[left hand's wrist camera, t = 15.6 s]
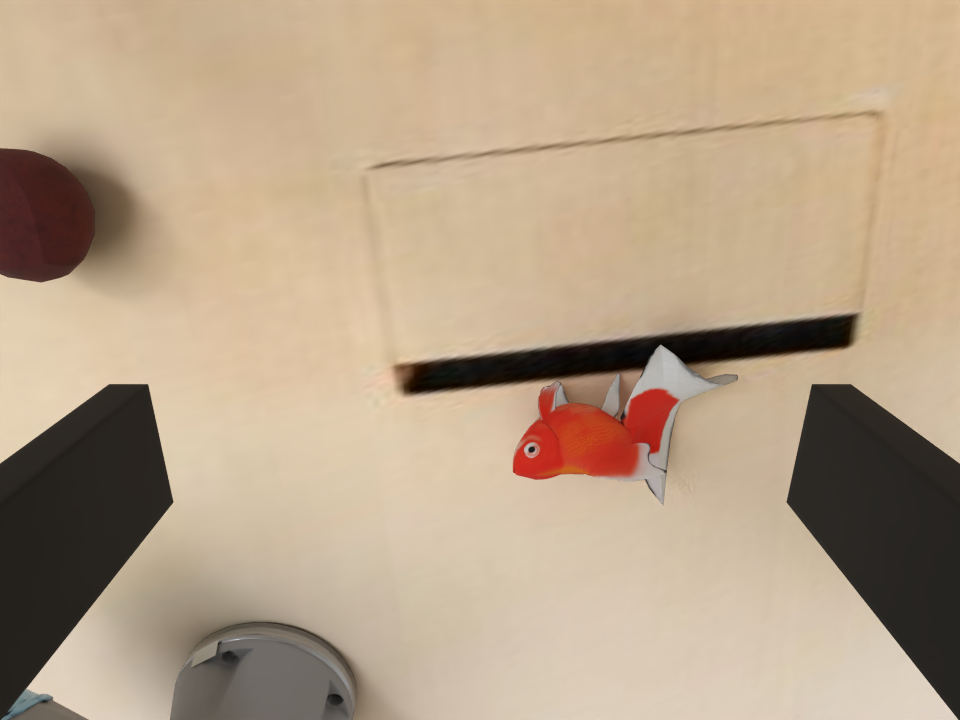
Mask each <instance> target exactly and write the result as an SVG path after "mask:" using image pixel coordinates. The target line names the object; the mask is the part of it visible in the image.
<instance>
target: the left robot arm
mask: <svg viewBox="0 0 960 720" xmlns="http://www.w3.org/2000/svg"><path fill="white" fill-rule="evenodd" d="M172 503H173V498H172V494H171V489H170V484H169V480H168V475H167V470H166V466H165V461H164V456H163V452H162V447H161V442H160V438H159V433H158V429H157V424H156V419H155V415H154V410H153V405H152V401H151V396H150V391H149V387H148V384H109V385H108V386H106V387H105V388H104V389H102V390H101V391H99V392H98V393H97V394H95V395H94V396H93V397H91V398H90V399H88V400H87V401H86V402H84V403H83V404H82V405H80V406H79V407H77V408H76V409H75V410H73V411H72V412H71V413H69V414H68V415H66V416H65V417H64V418H62V419H61V420H60V421H58V422H57V423H55V424H54V425H53V426H51V427H50V428H49V429H47V430H46V431H44V432H43V433H42V434H40V435H39V436H38V437H36V438H35V439H34V440H32V441H31V442H29V443H28V444H27V445H25V446H24V447H23V448H21V449H20V450H18V451H17V452H16V453H14V454H13V455H12V456H10V457H9V458H7V459H6V460H5V461H3V462H2V463H1V464H0V720H88V719H86V718H84V717H82V716H81V715H79V714H77V713H75V712H73V711H71V710H70V709H68V708H66V707H64V706H62V705H60V704H58V703H57V702H55V701H53V697H52V696H50V695H48V694H41V695H39V694H36V693H34V692H32V691H30V690H28V689H26V688H27V687H28V686H29V684H30V683H31V682H32V680H33V679H34V678H35V677H36V675H37V674H38V673H39V672H40V670H41V669H42V668H43V667H44V665H45V664H46V663H47V661H48V660H49V659H50V658H51V656H52V655H53V654H54V653H55V651H56V650H57V649H58V648H59V646H60V645H61V644H62V642H63V641H64V640H65V639H66V637H67V636H68V635H69V634H70V632H71V631H72V630H73V629H74V627H75V626H76V625H77V624H78V622H79V621H80V620H81V618H82V617H83V616H84V615H85V613H86V612H87V611H88V610H89V608H90V607H91V606H92V605H93V603H94V602H95V601H96V599H97V598H98V597H99V596H100V594H101V593H102V592H103V591H104V589H105V588H106V587H107V586H108V584H109V583H110V582H111V581H112V579H113V578H114V577H115V575H116V574H117V573H118V572H119V570H120V569H121V568H122V567H123V565H124V564H125V563H126V562H127V560H128V559H129V558H130V556H131V555H132V554H133V553H134V551H135V550H136V549H137V548H138V546H139V545H140V544H141V543H142V541H143V540H144V539H145V537H146V536H147V535H148V534H149V532H150V531H151V530H152V529H153V527H154V526H155V525H156V524H157V522H158V521H159V520H160V519H161V517H162V516H163V515H164V513H165V512H166V511H167V510H168V508H169V507H170V506H171V505H172ZM787 503H788V505H789V506H790V507H791V508H792V510H793V511H794V512H795V513H796V515H797V516H798V517H799V519H800V520H801V521H802V522H803V524H804V525H805V526H806V527H807V529H808V530H809V531H810V532H811V534H812V535H813V536H814V537H815V539H816V540H817V541H818V543H819V544H820V545H821V546H822V548H823V549H824V550H825V551H826V553H827V554H828V555H829V556H830V558H831V559H832V560H833V562H834V563H835V564H836V565H837V567H838V568H839V569H840V570H841V572H842V573H843V574H844V575H845V577H846V578H847V579H848V581H849V582H850V583H851V584H852V586H853V587H854V588H855V589H856V591H857V592H858V593H859V594H860V596H861V597H862V598H863V599H864V601H865V602H866V603H867V605H868V606H869V607H870V608H871V610H872V611H873V612H874V613H875V615H876V616H877V617H878V618H879V620H880V621H881V622H882V624H883V625H884V626H885V627H886V629H887V630H888V631H889V632H890V634H891V635H892V636H893V637H894V639H895V640H896V641H897V642H898V644H899V645H900V646H901V648H902V649H903V650H904V651H905V653H906V654H907V655H908V656H909V658H910V659H911V660H912V661H913V663H914V664H915V665H916V667H917V668H918V669H919V670H920V672H921V673H922V674H923V675H924V677H925V678H926V679H927V680H928V682H929V683H930V684H931V686H932V687H933V688H934V689H935V691H936V692H937V693H938V694H939V696H940V697H941V698H942V699H943V701H944V702H945V703H946V704H947V706H948V707H949V708H950V710H951V711H952V712H953V713H954V715H955V716H956V717H957V718H958V720H960V464H959V463H958V462H957V461H955V460H954V459H953V458H951V457H950V456H948V455H947V454H946V453H944V452H943V451H942V450H940V449H939V448H937V447H936V446H935V445H933V444H932V443H931V442H929V441H928V440H926V439H925V438H924V437H922V436H921V435H920V434H918V433H917V432H916V431H914V430H913V429H911V428H910V427H909V426H907V425H906V424H905V423H903V422H902V421H900V420H899V419H898V418H896V417H895V416H894V415H892V414H891V413H889V412H888V411H887V410H885V409H884V408H883V407H881V406H880V405H878V404H877V403H876V402H874V401H873V400H872V399H870V398H869V397H867V396H866V395H865V394H863V393H862V392H861V391H859V390H858V389H856V388H855V387H854V386H852V385H851V384H812V387H811V391H810V396H809V401H808V405H807V410H806V415H805V419H804V424H803V429H802V433H801V438H800V442H799V447H798V452H797V456H796V461H795V466H794V470H793V475H792V480H791V484H790V489H789V494H788V498H787ZM356 698H357V690H356V683H355V680H354V677H353V674H352V672H351V670H350V668H349V666H348V665H347V663H346V662H345V661H344V659H343V658H342V657H341V656H340V655H339V654H338V653H337V652H336V651H335V650H334V649H333V648H332V647H330V646H329V645H328V644H326V643H325V642H323V641H322V640H320V639H319V638H317V637H315V636H313V635H311V634H309V633H307V632H304V631H302V630H299V629H296V628H293V627H289V626H285V625H280V624H273V623H246V624H240V625H235V626H231V627H227V628H224V629H222V630H219V631H217V632H215V633H213V634H211V635H210V636H208V637H206V638H205V639H204V640H202V641H201V642H200V643H199V644H198V645H197V646H196V647H195V648H194V650H193V651H192V652H191V654H190V655H189V657H188V659H187V661H186V662H185V664H184V666H183V668H182V670H181V672H180V674H179V676H178V678H177V681H176V685H175V690H174V696H173V703H172V710H171V717H170V720H352V719H353V714H354V709H355V705H356Z"/></svg>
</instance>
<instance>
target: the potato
mask: <svg viewBox="0 0 960 720" xmlns="http://www.w3.org/2000/svg"><path fill="white" fill-rule="evenodd" d="M94 226H95V210H94V208H93V206H92V203H91V201H90V198H89V196H88V193H87V192H86V191H85V189H84V188H83V186H82V185H81V183H80V182H79V181H78V179H77V178H76V177H75V176H74V175H73V174H72V173H71V172H70V171H69V170H68V169H67V168H66V167H64V166H63V165H61V164H59V163H58V162H56V161H55V160H53V159H52V158H50V157H47V156H44V155H41V154H39V153H36V152H32V151H28V150H19V149H1V148H0V274H1V275H4V276H6V277H10V278H17V279H23V280H29V281H36V282H45V281H49V280H53V279H57V278H61V277H63V276H66V275H68V274H70V273H71V272H72V271H73V270H74V269H75V268H76V267H77V266H78V265H79V264H80V263H81V262H82V261H83V260H84V258H85V256H86V254H87V252H88V249H89V247H90V244H91V242H92V239H93V237H94Z"/></svg>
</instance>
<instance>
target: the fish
mask: <svg viewBox="0 0 960 720" xmlns="http://www.w3.org/2000/svg"><path fill="white" fill-rule="evenodd" d="M737 379H738V376H737V375H729V374H725V375H720V376H716V377H712V378H708V379H705V378H703V377H702V376H700V375H698V374H697V373H695V372H694V371H692V370H691V369H689V368H688V367H687V366H686V365H685V364H684V363H683V362H682V361H681V360H680V359H679V358H678V357H677V356H676V355H674V354H673V353H671V352H670V351H669V350H667V349H666V348H665V347H663V346H662V345H660V346H659V347H658V348H657V349H656V350H655V351H654V352H653V353H652V354H651V355H650V357H649V359H648V361H647V364H646V366H645V368H644V370H643V373H642V375H641V377H640V379H639V381H638V382H637V384H636V386H635V388H634V390H633V392H632V394H631V396H630V398H629V400H628V402H627V405H626V407H625V409H624V411H623V413H622V416H621V421H619V420H617V419H616V418H614V417H615V416H616V415H617V414H618V411H619V406H620V397H619V390H620V374H617V376H616V378H615V380H614V382H613V384H612V385H611V387H610V389H609V391H608V394H607V396H606V399H605V402H604V404H603V406H602V408H601V409H599V408H597V407H594V406H591V405H587V404H580V403H569V402H568V400H567V398H566V396H565V393H564V389H563V386H562V385H561V383H560V382H557V381H556V382H555V383H553V384H552V385H550V386H546V387H543V389H542V390H541V393H540V396H539V398H538V408H539V413H540V417H539V418H538V419H537V420H536V421H535V422H534V423H533V424H532V425H531V426H530V427H529V429H528V430H527V432H526V433H525V434H524V436H523V437H522V439H521V440H520V442H519V444H518V446H517V448H516V450H515V453H514V458H513V473H515V474H516V475H519V476H523V477H527V478H531V479H535V480H537V479H548V478H552V477H555V476H558V475H560V474H587V475H590V476H594V477H600V478H606V479H613V480H621V481H630V482H632V481H638V480H643V479H645V480H646V482H647V484H648V486H649V489H650V490H651V491H652V492H653V494H654V495H655V496H656V497H657V499H658V500H659V501H660V502H661V504H662V505H663V503H664V492H665V482H666V472H667V464H668V455H669V447H670V439H671V434H672V429H673V424H674V419H675V415H676V413H677V410H678V408H679V405H680V403H681V402H682V401H684V400H686V399H689V398H691V397H693V396H696V395H698V394H700V393H703V392H706V391H709V390H712V389H715V388H717V387H720V386H723V385H726V384H729V383H732V382H735V381H737Z"/></svg>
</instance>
